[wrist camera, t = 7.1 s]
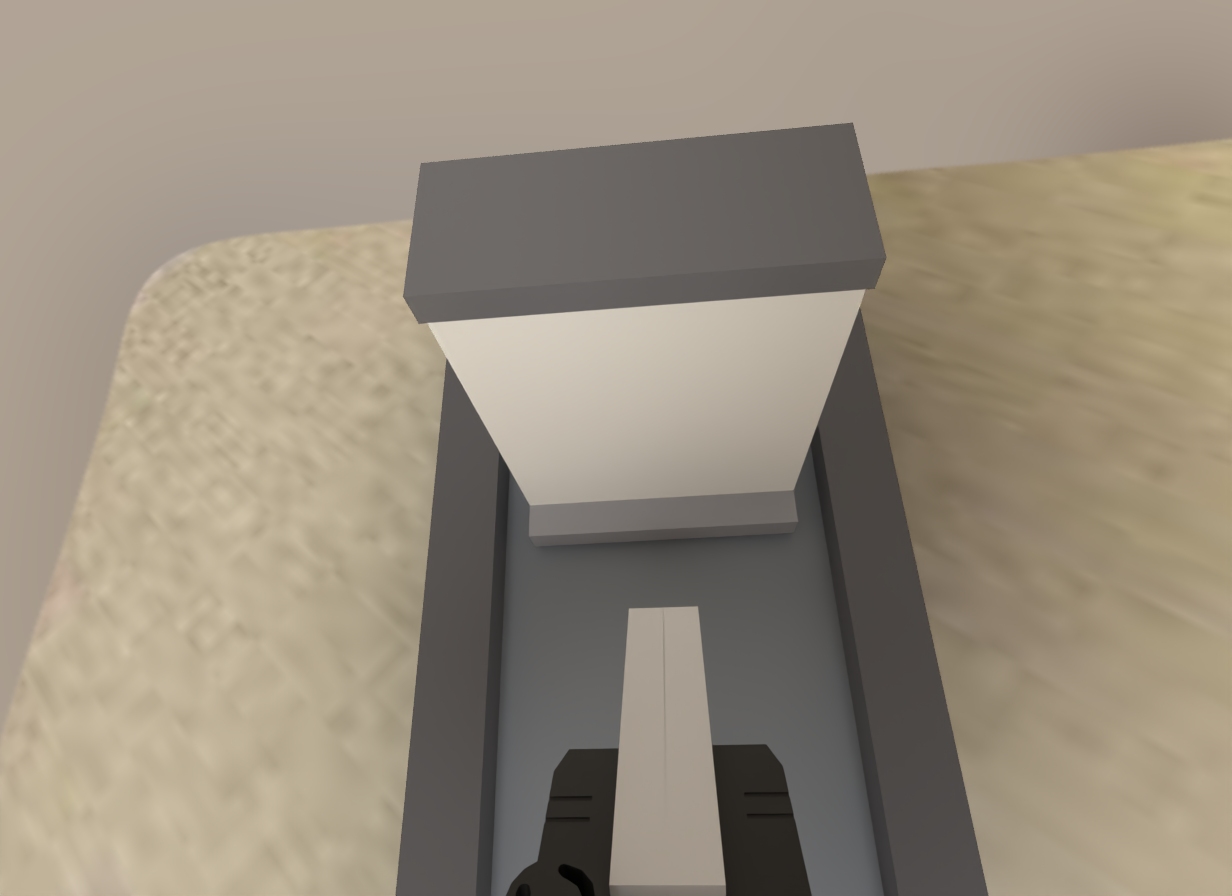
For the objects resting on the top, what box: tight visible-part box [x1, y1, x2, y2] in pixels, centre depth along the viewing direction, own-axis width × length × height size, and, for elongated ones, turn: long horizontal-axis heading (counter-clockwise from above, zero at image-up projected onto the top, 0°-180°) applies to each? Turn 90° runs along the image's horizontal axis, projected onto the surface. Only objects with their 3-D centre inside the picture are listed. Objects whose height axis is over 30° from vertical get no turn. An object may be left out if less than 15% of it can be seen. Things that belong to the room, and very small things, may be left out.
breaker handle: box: [403, 123, 886, 547], centre depth 18 cm, size 5×8×11 cm, turn 91°
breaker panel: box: [396, 308, 988, 896], centre depth 21 cm, size 26×14×4 cm, turn 2°
